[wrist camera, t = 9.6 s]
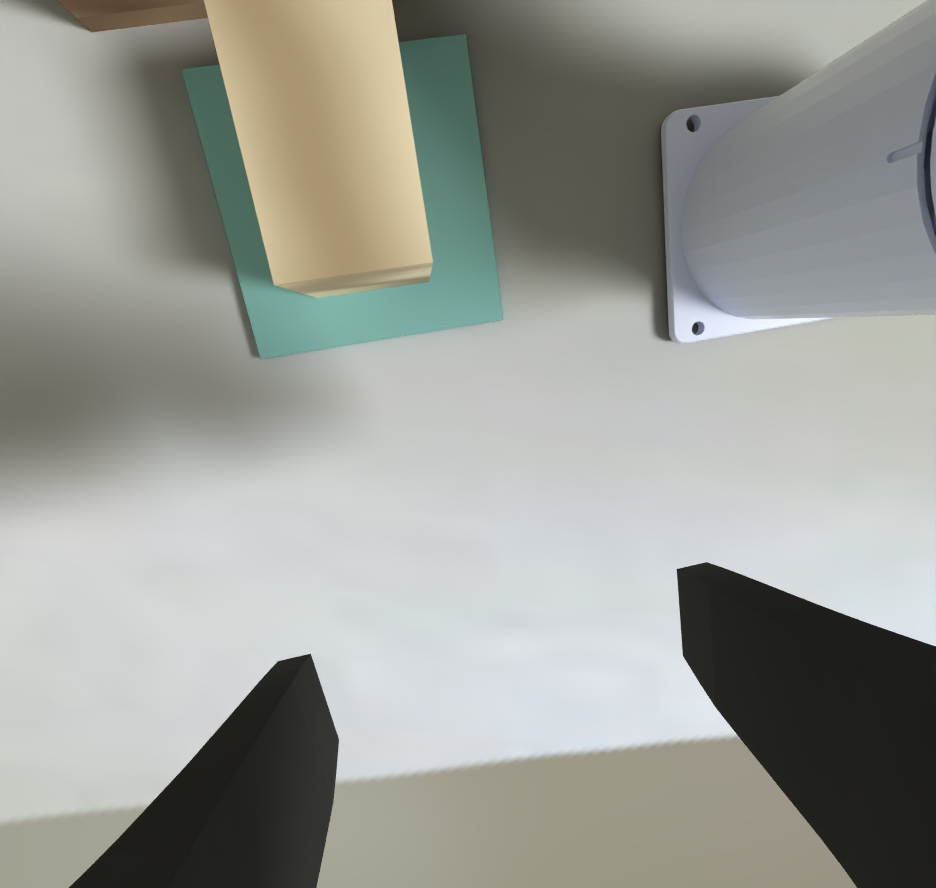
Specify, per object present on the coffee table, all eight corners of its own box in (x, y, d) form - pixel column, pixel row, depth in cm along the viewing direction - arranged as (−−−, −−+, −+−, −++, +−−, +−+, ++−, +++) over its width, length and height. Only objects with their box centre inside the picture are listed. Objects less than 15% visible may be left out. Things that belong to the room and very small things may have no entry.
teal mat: (464, 41, 15) (465, 33, 15) (501, 319, 17) (503, 319, 17) (187, 75, 14) (181, 69, 14) (264, 358, 17) (260, 359, 16)
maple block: (397, 89, 15) (387, -28, 10) (429, 281, 16) (432, 262, 11) (274, 103, 14) (201, -8, 10) (317, 298, 16) (274, 284, 11)
